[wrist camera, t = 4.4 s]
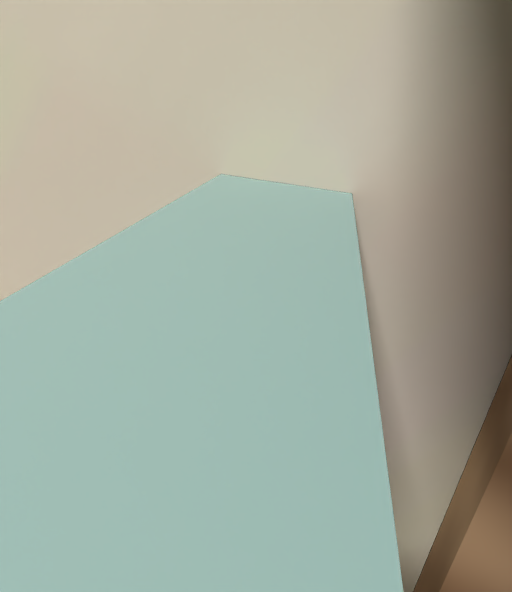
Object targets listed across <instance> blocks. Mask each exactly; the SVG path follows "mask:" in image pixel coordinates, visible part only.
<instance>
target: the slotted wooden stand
mask: <svg viewBox="0 0 512 592" xmlns="http://www.w3.org/2000/svg"><path fill="white" fill-rule="evenodd" d="M414 592H512V356H511V359H510V361H509V363H508V366H507V368H506V371H505V373H504V375H503V378H502V380H501V383H500V385H499V387H498V390H497V392H496V395H495V397H494V399H493V402H492V404H491V407H490V409H489V411H488V414H487V416H486V419H485V421H484V423H483V426H482V428H481V431H480V433H479V435H478V438H477V440H476V443H475V445H474V447H473V450H472V452H471V455H470V457H469V459H468V462H467V464H466V467H465V469H464V471H463V474H462V476H461V479H460V481H459V483H458V486H457V488H456V491H455V493H454V495H453V498H452V500H451V503H450V505H449V507H448V510H447V512H446V515H445V517H444V519H443V522H442V524H441V527H440V529H439V532H438V534H437V536H436V539H435V541H434V544H433V546H432V548H431V551H430V553H429V556H428V558H427V560H426V563H425V565H424V568H423V570H422V572H421V575H420V577H419V580H418V582H417V584H416V587H415V589H414Z"/></svg>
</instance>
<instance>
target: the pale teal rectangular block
mask: <svg viewBox="0 0 512 592" xmlns="http://www.w3.org/2000/svg"><path fill="white" fill-rule="evenodd" d="M0 592H403V585H402V577H401V569H400V561H399V554H398V546H397V538H396V530H395V523H394V515H393V507H392V499H391V492H390V484H389V476H388V468H387V461H386V453H385V445H384V437H383V430H382V422H381V414H380V406H379V399H378V391H377V383H376V375H375V368H374V360H373V352H372V344H371V337H370V329H369V321H368V313H367V306H366V298H365V290H364V282H363V275H362V267H361V259H360V251H359V244H358V236H357V228H356V221H355V213H354V205H353V197H352V193H345V192H338V191H331V190H325V189H318V188H311V187H304V186H298V185H291V184H284V183H277V182H271V181H264V180H257V179H250V178H244V177H237V176H230V175H223V174H220V175H218V176H217V177H215V178H213V179H212V180H210V181H208V182H206V183H205V184H203V185H201V186H199V187H198V188H196V189H194V190H192V191H191V192H189V193H187V194H186V195H184V196H182V197H180V198H179V199H177V200H175V201H173V202H172V203H170V204H168V205H166V206H165V207H163V208H161V209H159V210H158V211H156V212H154V213H153V214H151V215H149V216H147V217H146V218H144V219H142V220H140V221H139V222H137V223H135V224H133V225H132V226H130V227H128V228H127V229H125V230H123V231H121V232H120V233H118V234H116V235H114V236H113V237H111V238H109V239H107V240H106V241H104V242H102V243H100V244H99V245H97V246H95V247H94V248H92V249H90V250H88V251H87V252H85V253H83V254H81V255H80V256H78V257H76V258H74V259H73V260H71V261H69V262H67V263H66V264H64V265H62V266H61V267H59V268H57V269H55V270H54V271H52V272H50V273H48V274H47V275H45V276H43V277H41V278H40V279H38V280H36V281H35V282H33V283H31V284H29V285H28V286H26V287H24V288H22V289H21V290H19V291H17V292H15V293H14V294H12V295H10V296H8V297H7V298H5V299H3V300H2V301H0Z"/></svg>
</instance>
